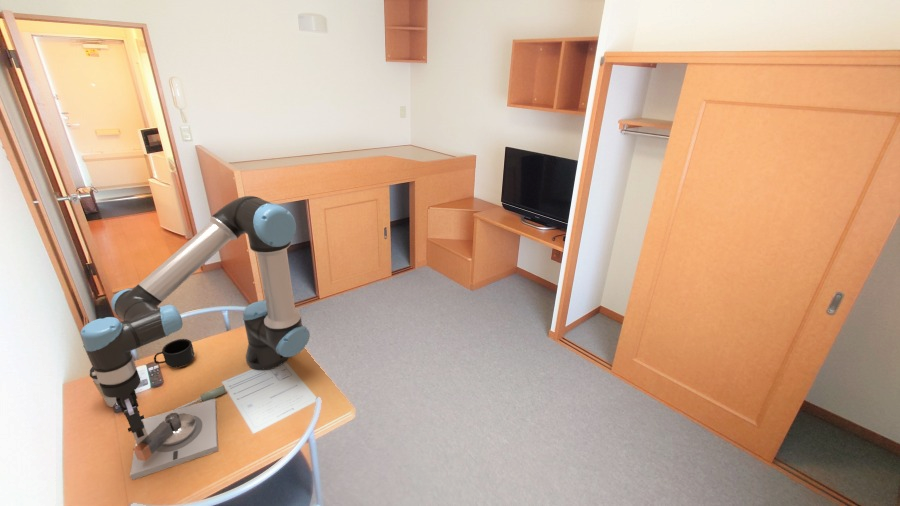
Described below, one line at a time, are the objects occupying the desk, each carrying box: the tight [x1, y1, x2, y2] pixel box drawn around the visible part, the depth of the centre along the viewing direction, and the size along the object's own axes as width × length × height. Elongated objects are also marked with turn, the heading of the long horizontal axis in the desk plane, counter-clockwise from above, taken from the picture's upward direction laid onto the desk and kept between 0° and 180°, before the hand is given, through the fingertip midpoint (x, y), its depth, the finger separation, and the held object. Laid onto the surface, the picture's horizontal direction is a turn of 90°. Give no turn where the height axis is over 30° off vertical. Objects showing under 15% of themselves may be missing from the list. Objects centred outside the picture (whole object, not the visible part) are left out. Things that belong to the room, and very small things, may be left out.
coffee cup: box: [89, 366, 117, 408], centre depth 127 cm, size 9×9×15 cm
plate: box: [129, 398, 219, 481], centre depth 118 cm, size 20×20×2 cm
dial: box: [133, 413, 196, 461], centre depth 114 cm, size 16×10×6 cm, turn 169°
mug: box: [153, 338, 195, 369], centre depth 145 cm, size 12×9×7 cm
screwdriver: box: [173, 384, 227, 410], centre depth 131 cm, size 15×3×3 cm
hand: (143, 441), depth 110 cm, fingers closed
